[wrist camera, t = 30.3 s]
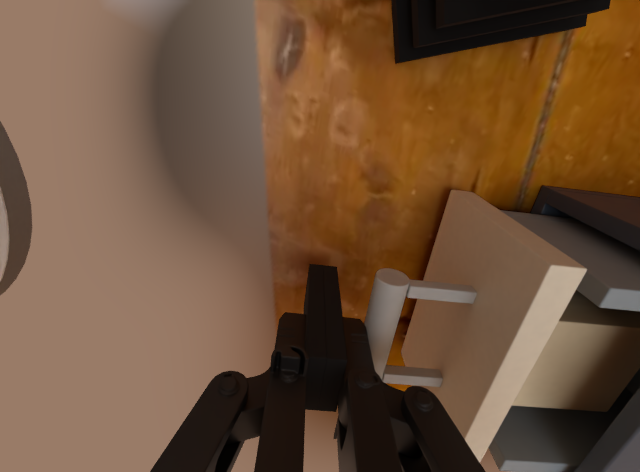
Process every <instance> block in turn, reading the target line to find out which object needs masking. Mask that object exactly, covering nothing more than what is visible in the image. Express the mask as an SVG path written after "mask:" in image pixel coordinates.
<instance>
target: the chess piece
mask: <svg viewBox="0 0 640 472" xmlns="http://www.w3.org/2000/svg"><path fill="white" fill-rule="evenodd" d="M609 6H610V0H392V16H393V31H394V46H395V62H396V63H400V62H405V61H410V60H416V59H421V58H426V57H431V56H436V55H441V54H446V53H452V52H457V51H462V50H467V49H472V48H477V47H482V46H488V45H493V44H498V43H503V42H508V41H513V40H518V39H523V38H529V37H534V36H539V35H544V34H549V33H554V32H559V31H565V30H570V29H574V28H579V27H583V26H586V20H587V14H590V13H594V12H598V11H602V10H606V9H609Z"/></svg>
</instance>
